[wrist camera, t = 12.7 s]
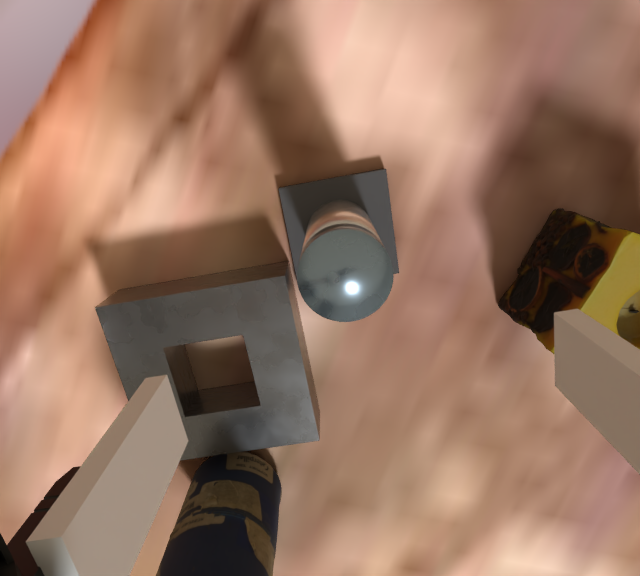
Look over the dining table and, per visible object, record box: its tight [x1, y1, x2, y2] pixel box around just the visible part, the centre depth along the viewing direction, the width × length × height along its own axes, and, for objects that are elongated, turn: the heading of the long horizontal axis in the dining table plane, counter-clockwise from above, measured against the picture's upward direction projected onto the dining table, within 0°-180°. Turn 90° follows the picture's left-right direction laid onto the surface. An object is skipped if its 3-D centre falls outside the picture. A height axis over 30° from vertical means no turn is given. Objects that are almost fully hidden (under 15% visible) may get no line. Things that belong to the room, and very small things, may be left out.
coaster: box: [279, 169, 399, 282], centre depth 39 cm, size 9×9×1 cm
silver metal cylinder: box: [297, 200, 393, 322], centre depth 32 cm, size 6×6×13 cm
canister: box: [156, 452, 282, 576], centre depth 40 cm, size 10×10×18 cm
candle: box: [498, 209, 640, 354], centre depth 36 cm, size 10×10×10 cm
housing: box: [95, 261, 320, 460], centre depth 41 cm, size 16×16×4 cm
